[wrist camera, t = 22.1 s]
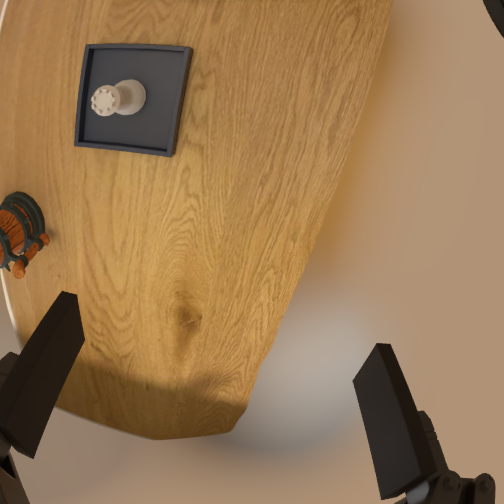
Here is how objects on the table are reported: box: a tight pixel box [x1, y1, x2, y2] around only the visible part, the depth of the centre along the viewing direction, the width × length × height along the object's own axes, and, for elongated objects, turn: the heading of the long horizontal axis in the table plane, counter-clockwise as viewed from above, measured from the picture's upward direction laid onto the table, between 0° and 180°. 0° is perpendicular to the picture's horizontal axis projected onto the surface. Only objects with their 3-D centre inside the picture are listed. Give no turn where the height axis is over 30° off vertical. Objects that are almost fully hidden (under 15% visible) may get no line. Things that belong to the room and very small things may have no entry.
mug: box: [0, 192, 50, 279], centre depth 36 cm, size 13×10×12 cm
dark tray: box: [74, 44, 193, 157], centre depth 32 cm, size 13×13×2 cm
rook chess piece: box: [91, 79, 146, 116], centre depth 29 cm, size 4×4×8 cm
